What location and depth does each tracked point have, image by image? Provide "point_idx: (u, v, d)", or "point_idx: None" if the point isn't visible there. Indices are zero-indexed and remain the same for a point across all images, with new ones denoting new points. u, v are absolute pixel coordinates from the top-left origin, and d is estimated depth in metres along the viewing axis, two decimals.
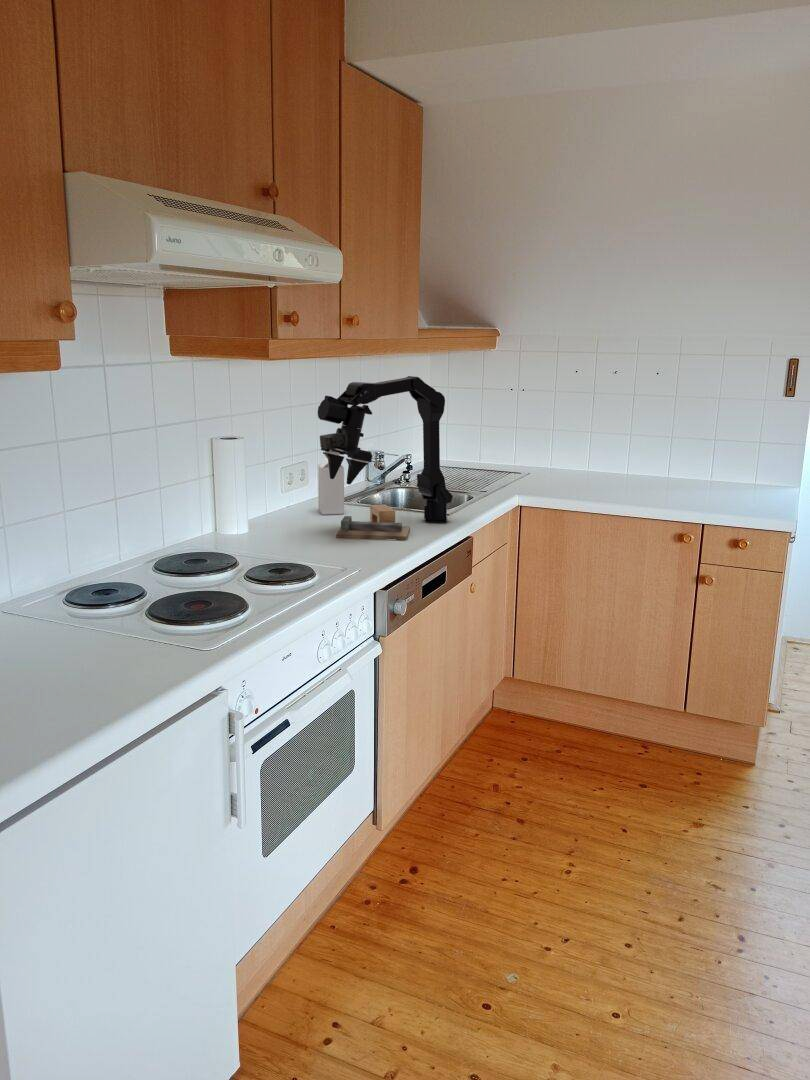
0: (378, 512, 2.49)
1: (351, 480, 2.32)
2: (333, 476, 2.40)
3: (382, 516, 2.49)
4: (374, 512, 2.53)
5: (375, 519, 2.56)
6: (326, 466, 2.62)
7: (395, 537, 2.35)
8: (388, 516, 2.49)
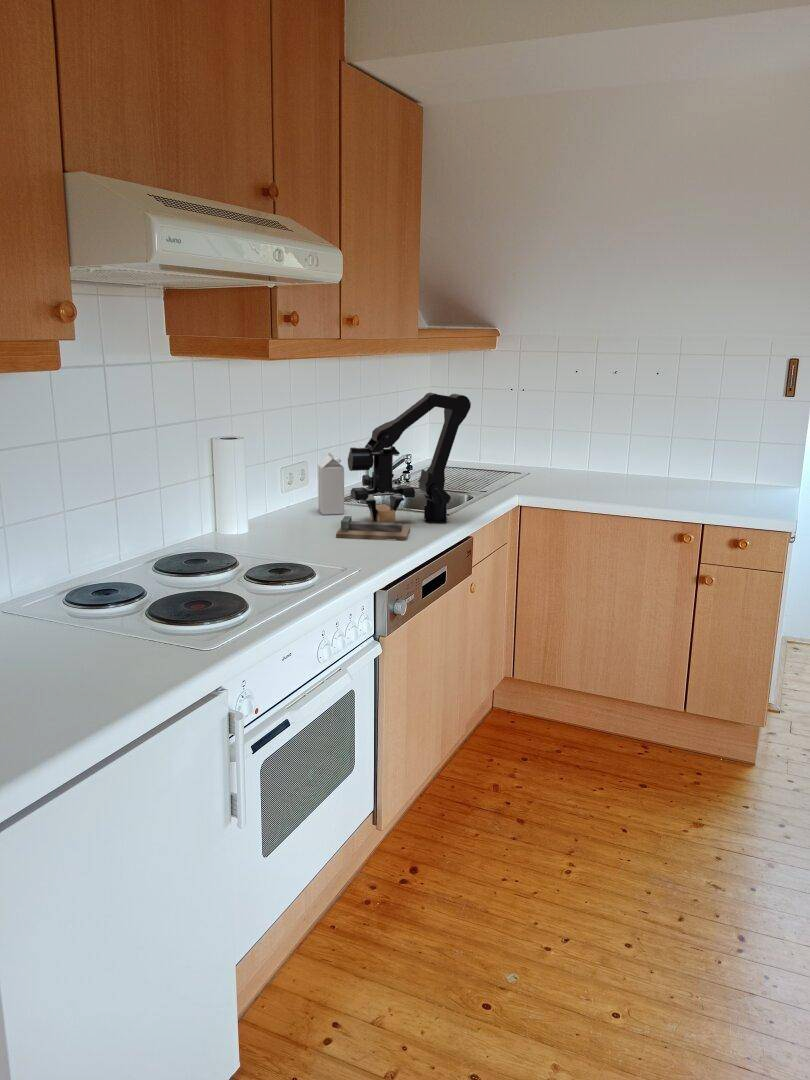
0: (378, 512, 2.49)
1: (373, 517, 2.52)
2: None
3: (382, 516, 2.49)
4: None
5: None
6: (326, 466, 2.62)
7: (395, 537, 2.35)
8: (388, 516, 2.49)
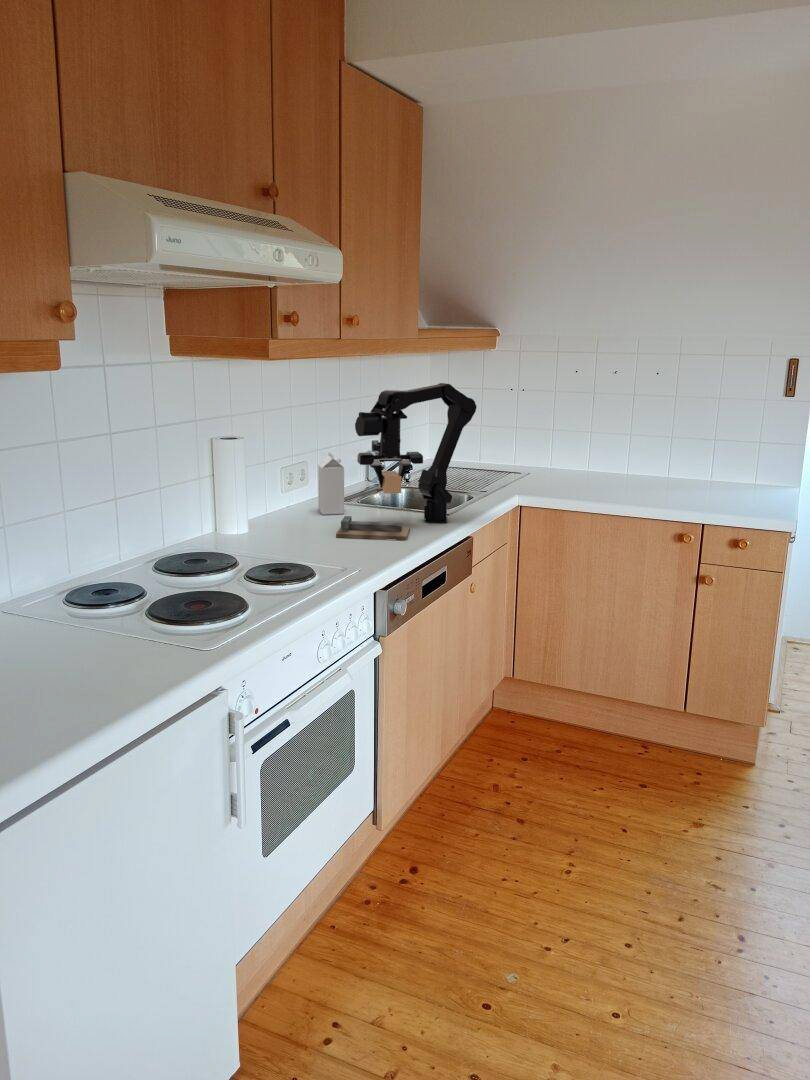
0: (384, 477, 2.44)
1: (379, 483, 2.47)
2: None
3: (387, 481, 2.43)
4: None
5: (383, 485, 2.51)
6: (326, 466, 2.62)
7: (395, 537, 2.35)
8: (394, 482, 2.44)
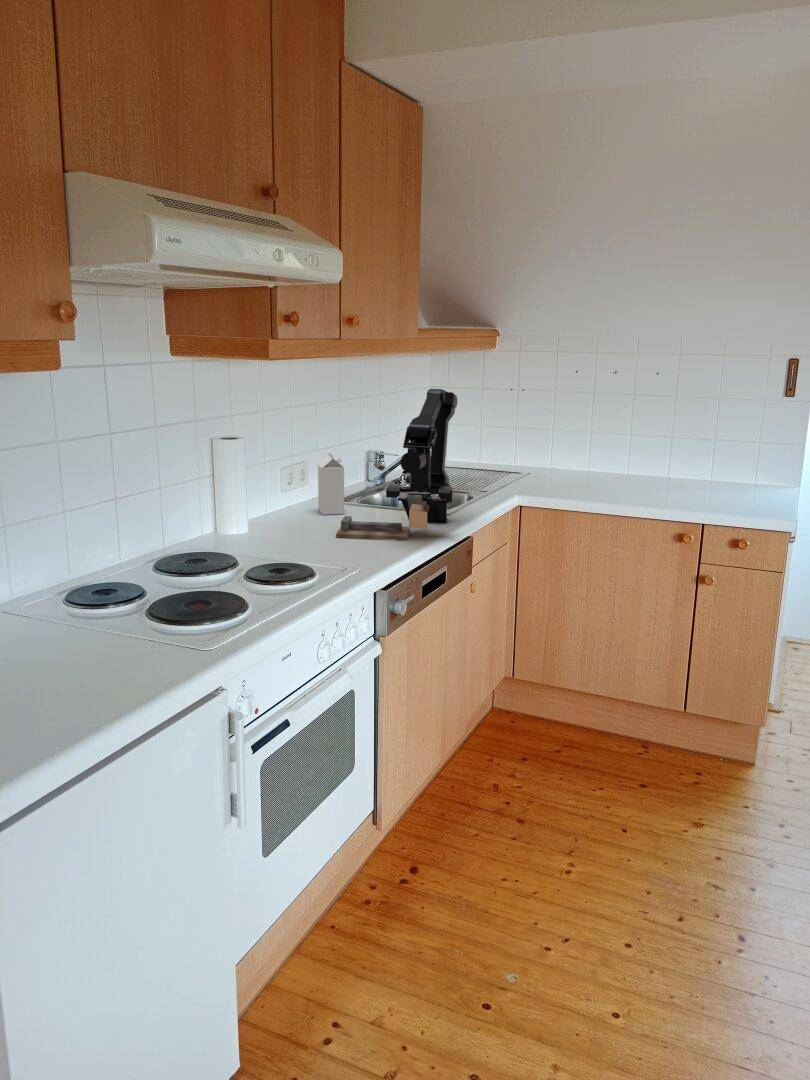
0: None
1: (408, 517, 2.39)
2: (427, 519, 2.39)
3: (412, 516, 2.35)
4: None
5: None
6: (326, 466, 2.62)
7: (395, 537, 2.35)
8: (419, 517, 2.35)
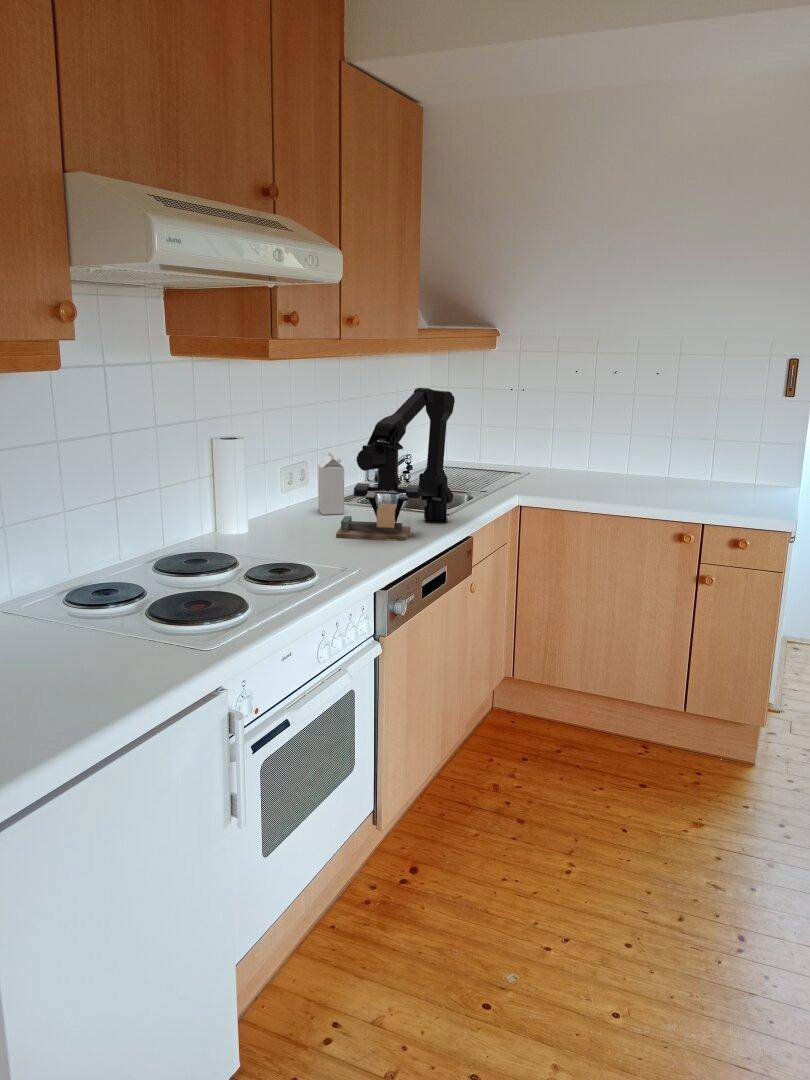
0: (377, 510, 2.36)
1: None
2: None
3: (380, 515, 2.35)
4: None
5: None
6: (326, 466, 2.62)
7: (395, 537, 2.35)
8: (386, 516, 2.35)
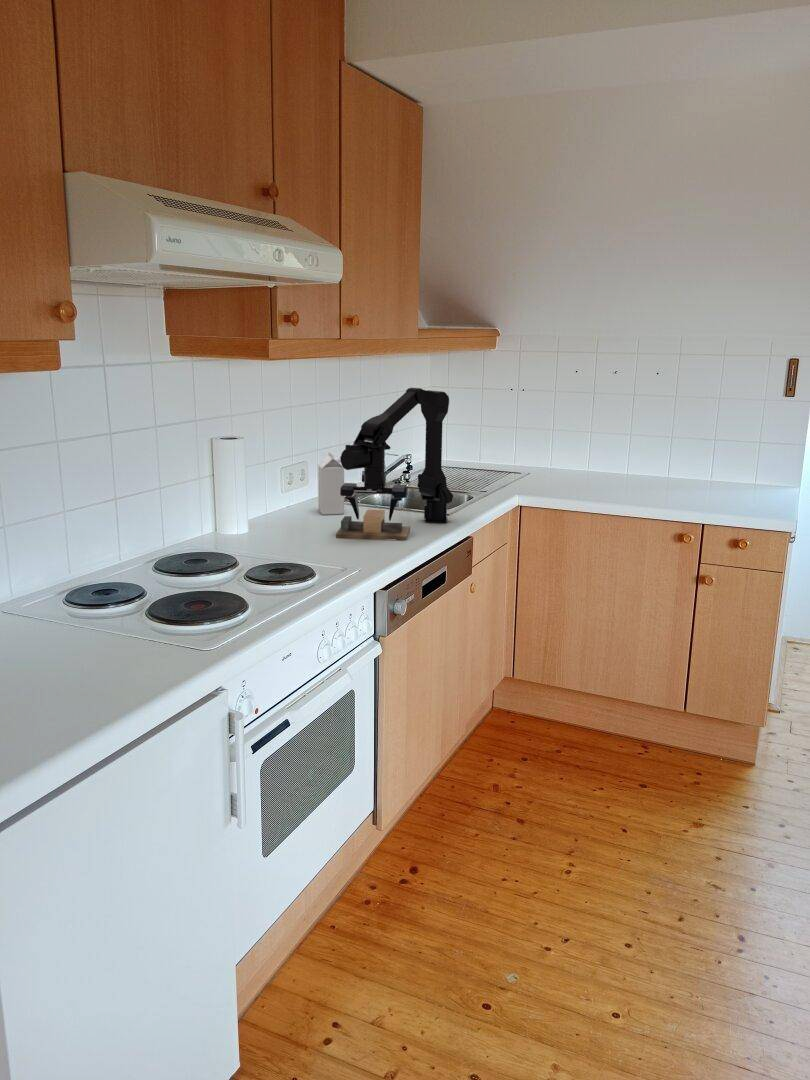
0: None
1: None
2: (389, 517, 2.40)
3: (366, 521, 2.36)
4: None
5: None
6: (326, 466, 2.62)
7: (395, 537, 2.35)
8: (373, 522, 2.36)
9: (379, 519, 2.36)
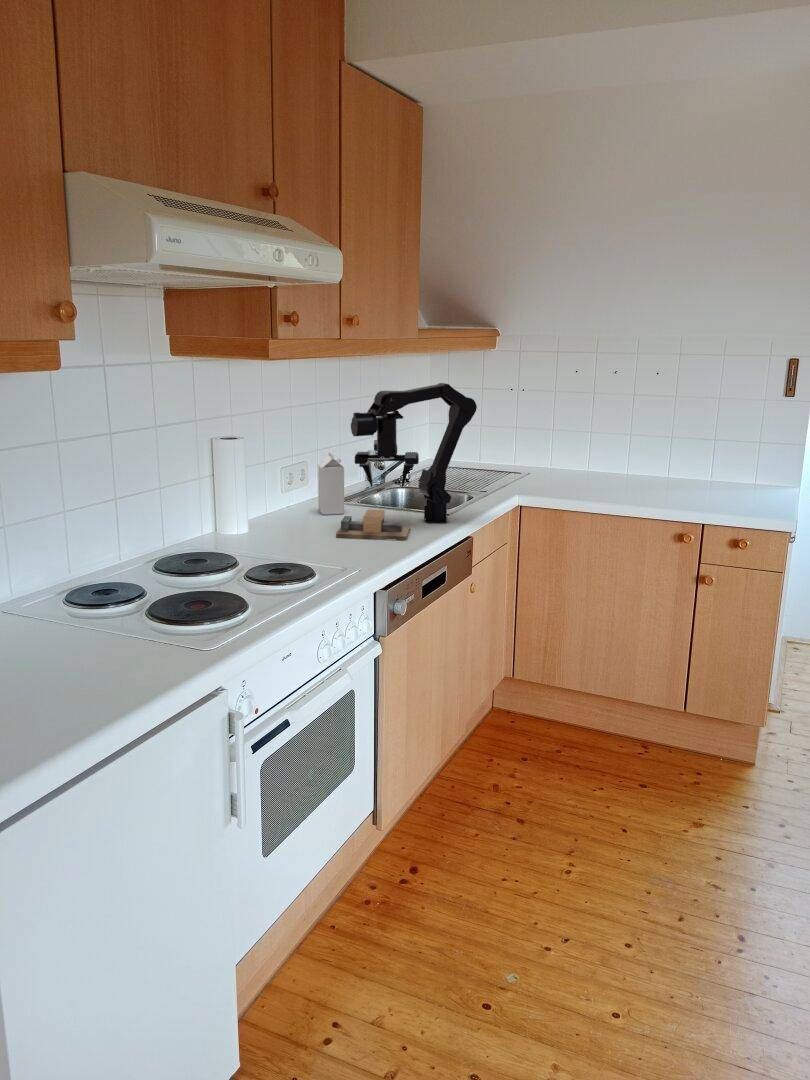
0: None
1: None
2: None
3: (366, 521, 2.36)
4: None
5: None
6: (326, 466, 2.62)
7: (395, 537, 2.35)
8: (373, 522, 2.36)
9: (379, 519, 2.36)
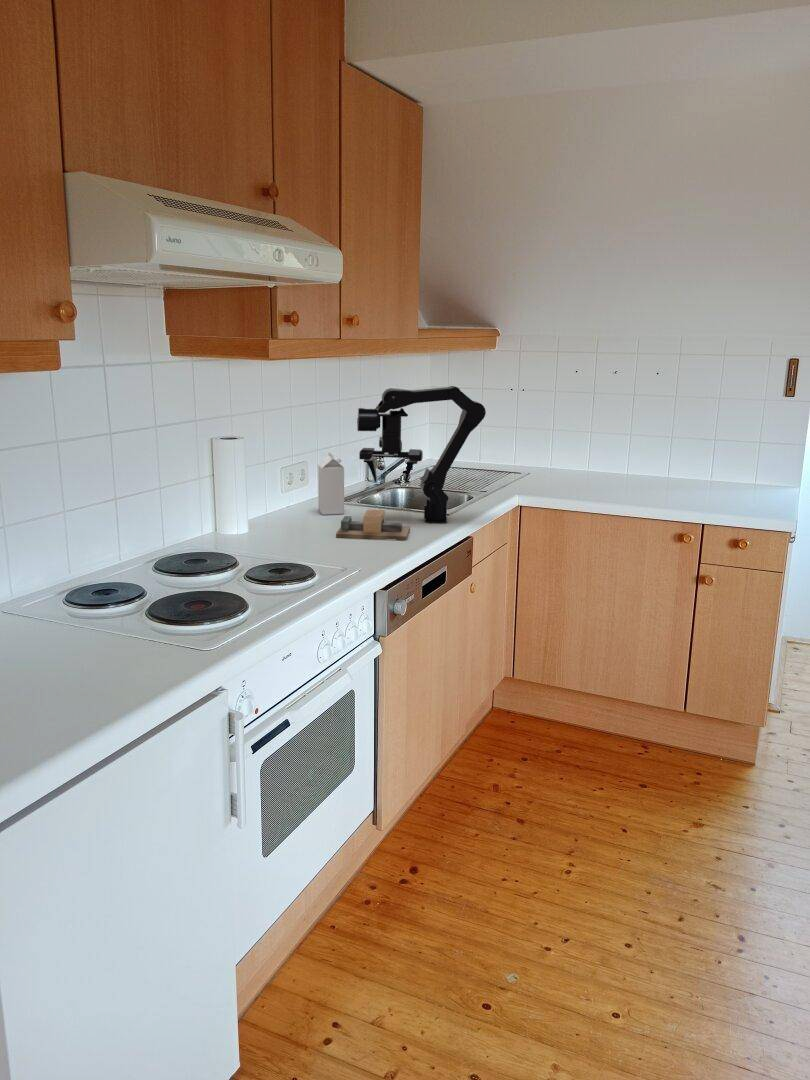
0: None
1: None
2: (405, 480, 2.54)
3: (366, 521, 2.36)
4: None
5: None
6: (326, 466, 2.62)
7: (395, 537, 2.35)
8: (373, 522, 2.36)
9: (379, 519, 2.36)
